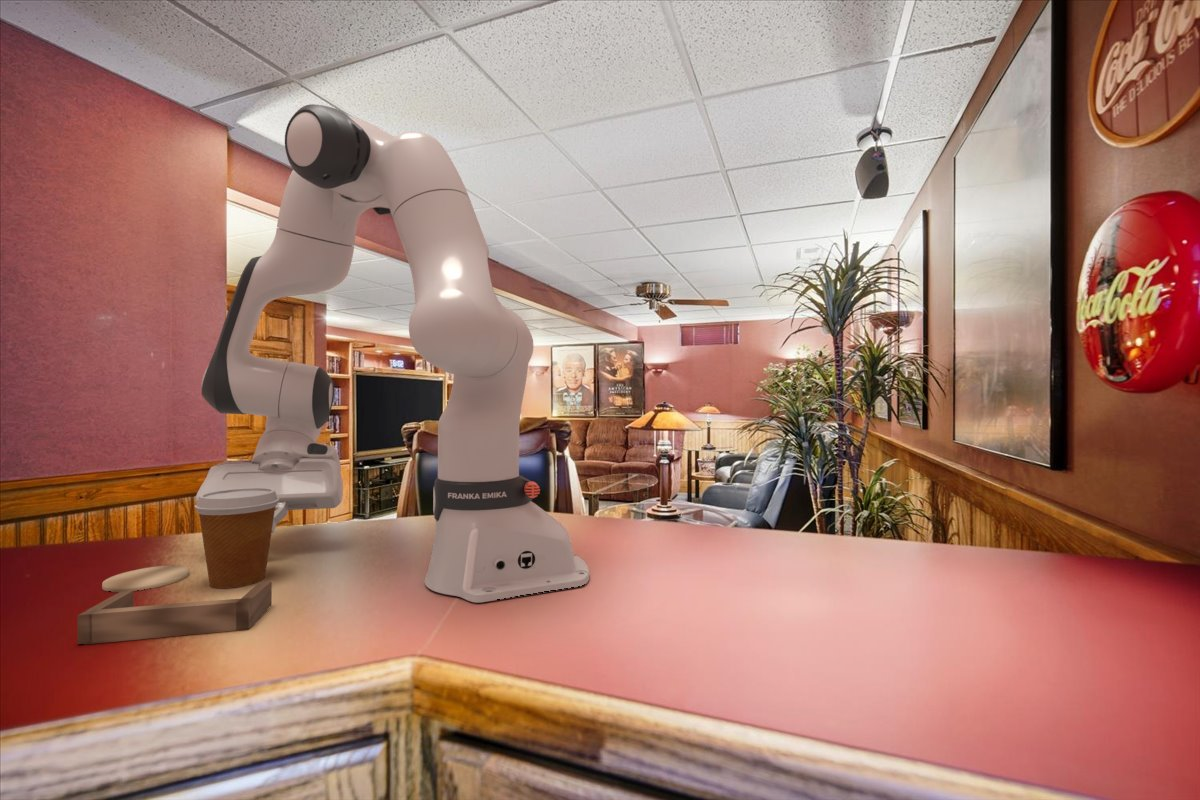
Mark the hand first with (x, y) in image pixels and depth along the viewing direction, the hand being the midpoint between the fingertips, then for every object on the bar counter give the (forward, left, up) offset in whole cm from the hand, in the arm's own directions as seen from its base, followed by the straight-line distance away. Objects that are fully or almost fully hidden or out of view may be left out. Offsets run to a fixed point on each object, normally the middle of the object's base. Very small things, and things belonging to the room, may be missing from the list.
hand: (261, 531), depth 80 cm
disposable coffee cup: (0, +8, -5) cm, 9 cm away
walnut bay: (0, +22, -5) cm, 22 cm away
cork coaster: (+12, +5, -5) cm, 14 cm away
